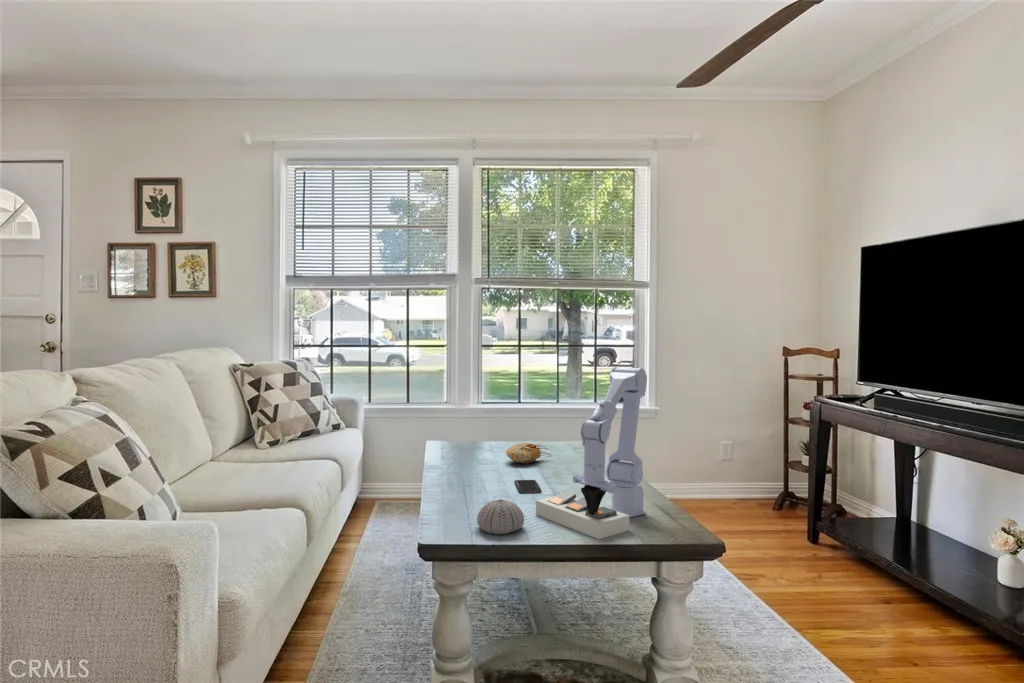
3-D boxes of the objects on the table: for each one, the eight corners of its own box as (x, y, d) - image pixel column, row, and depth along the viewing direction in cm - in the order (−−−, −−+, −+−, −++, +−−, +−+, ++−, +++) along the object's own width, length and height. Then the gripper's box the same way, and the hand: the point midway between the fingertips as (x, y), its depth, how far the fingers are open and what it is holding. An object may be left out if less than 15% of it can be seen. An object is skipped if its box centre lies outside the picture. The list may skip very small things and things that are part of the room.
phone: (519, 491, 198) (514, 480, 213) (519, 494, 198) (514, 483, 213) (542, 490, 199) (535, 479, 214) (542, 494, 199) (535, 482, 214)
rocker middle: (583, 502, 173) (582, 497, 173) (595, 506, 169) (595, 501, 169) (566, 511, 169) (565, 505, 169) (578, 515, 165) (577, 510, 165)
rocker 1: (565, 494, 179) (564, 490, 179) (576, 498, 175) (575, 493, 175) (548, 505, 175) (547, 500, 175) (559, 509, 171) (558, 504, 171)
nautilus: (547, 458, 256) (559, 467, 241) (500, 457, 250) (509, 467, 236) (549, 440, 255) (561, 448, 241) (501, 439, 250) (511, 448, 235)
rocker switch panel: (565, 507, 183) (565, 493, 183) (629, 530, 162) (629, 515, 162) (535, 514, 176) (535, 500, 175) (598, 539, 155) (598, 523, 155)
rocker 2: (603, 511, 167) (603, 506, 166) (616, 516, 163) (616, 510, 163) (585, 515, 162) (585, 509, 162) (598, 520, 158) (598, 514, 158)
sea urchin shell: (476, 537, 156) (476, 507, 155) (476, 521, 169) (476, 493, 169) (526, 537, 156) (526, 507, 156) (522, 520, 170) (522, 493, 170)
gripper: (565, 461, 164) (564, 509, 164) (603, 470, 152) (602, 523, 152) (583, 458, 168) (582, 506, 168) (621, 467, 156) (620, 518, 156)
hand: (593, 514), depth 160 cm, fingers closed, pressing on rocker 2
